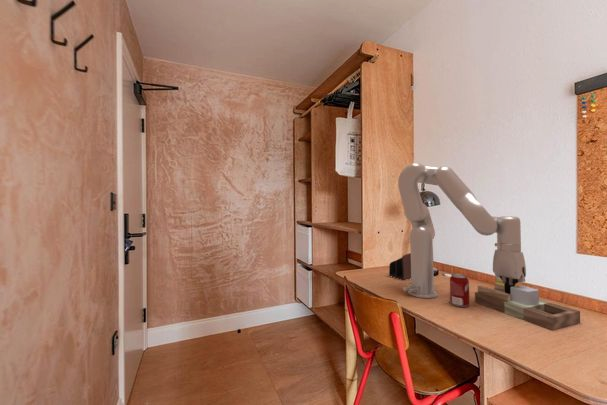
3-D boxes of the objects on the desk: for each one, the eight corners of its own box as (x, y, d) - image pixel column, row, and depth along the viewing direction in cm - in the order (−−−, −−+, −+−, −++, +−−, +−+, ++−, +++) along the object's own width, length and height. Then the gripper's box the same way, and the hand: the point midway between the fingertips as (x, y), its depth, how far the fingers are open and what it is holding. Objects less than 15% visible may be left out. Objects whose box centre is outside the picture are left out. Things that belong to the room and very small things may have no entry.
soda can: (462, 309, 106) (462, 278, 106) (446, 303, 112) (446, 274, 112) (473, 306, 109) (472, 276, 109) (456, 300, 115) (456, 272, 115)
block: (527, 305, 98) (527, 291, 98) (510, 300, 104) (510, 287, 104) (539, 303, 100) (538, 289, 100) (521, 298, 106) (521, 285, 106)
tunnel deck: (552, 330, 88) (552, 310, 88) (474, 301, 113) (474, 286, 113) (580, 322, 93) (579, 303, 93) (499, 297, 118) (499, 282, 118)
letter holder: (426, 275, 155) (425, 250, 155) (403, 281, 145) (403, 254, 145) (411, 271, 164) (410, 248, 164) (389, 276, 153) (388, 252, 153)
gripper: (483, 245, 113) (484, 289, 113) (523, 251, 99) (524, 301, 99) (496, 244, 115) (497, 287, 115) (536, 249, 101) (537, 298, 101)
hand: (509, 293), depth 107 cm, fingers closed
